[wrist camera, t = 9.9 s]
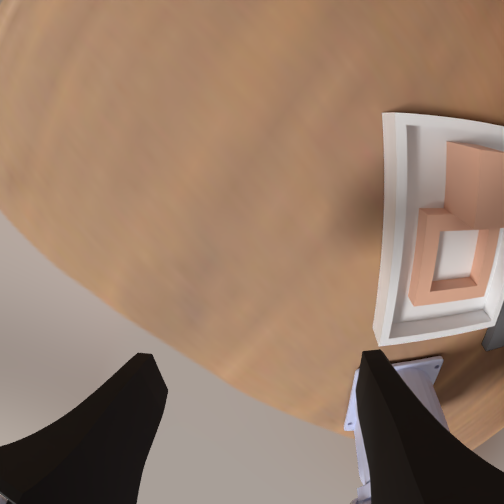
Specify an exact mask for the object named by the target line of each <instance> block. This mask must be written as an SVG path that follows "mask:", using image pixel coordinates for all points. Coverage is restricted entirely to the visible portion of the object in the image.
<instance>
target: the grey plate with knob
mask: <svg viewBox="0 0 504 504" xmlns="http://www.w3.org/2000/svg"><path fill="white" fill-rule="evenodd" d="M482 346H483V347H484V349H485V351H489V350H493V349H496V348H500V347H503V346H504V301H503V304H502V307H501V310H500V313H499V316H498V318H497V321H496V324H495V326H492V327H488V330H487V332H486V335H485V337H484V340H483V342H482Z"/></svg>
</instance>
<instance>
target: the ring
mask: <svg viewBox="0 0 504 504" xmlns="http://www.w3.org/2000/svg"><path fill="white" fill-rule="evenodd" d="M446 144H447V152H446V184H445V199H444V208H419V213H418V225H417V236H416V245H415V253H414V261H413V268H412V274H411V281H410V287H409V293H408V297H409V299H410V301H411V303H412V304H413V306H423V305H430V304H438V303H445V302H452V301H459V300H466V299H472V298H478V297H484V295H485V292H486V288H487V285H488V281H489V277H490V273H491V269H492V265H493V261H494V257H495V252H496V247H497V242H498V237H499V232H500V228H504V152H503V151H499V150H496V149H492V148H488V147H485V146H481V145H476V144H468V143H459V142H448V141H446ZM461 230H479V232H478V238H477V244H476V249H475V254H474V259H473V264H472V268H471V273H470V277H464V278H456V279H447V280H438V281H432V279H433V274H434V269H435V263H436V257H437V250H438V244H439V236H440V231H461Z"/></svg>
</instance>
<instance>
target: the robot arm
mask: <svg viewBox="0 0 504 504" xmlns="http://www.w3.org/2000/svg"><path fill="white" fill-rule="evenodd" d="M442 363H443V358H442V356H436V357H431V358H425V359H420V360H414V361H408V362H401V363H395V364H391V363H390V361H389V360H388V359H387V357H386V356H385V354H384V353H383V351H381V350H380V349H379V350H371V351H363V352H362V358H361V364H360V368H359V369H357V370H356V371H355V375H354V380H353V385H352V391H351V396H350V401H349V405H348V410H347V414H346V419H345V423H344V430H345V431H352V430H354V435H355V442H356V451H357V459H358V469H359V476H360V479H361V481H362V483H363V485H364V486H361V487H359V488H357V493H358V498H356V499H354V500H353V501H352V502H351V503H350V504H504V472H502V471H501V470H499V469H497V468H496V467H494V466H492V465H491V464H489V463H488V462H486V461H485V460H483V459H482V458H481V457H479V456H478V455H477V454H475V453H474V452H473V451H471V450H470V449H469V448H467V447H466V446H465V445H464V444H462V443H461V442H460V441H459V440H458V439H457V438H455V437H454V436H453V435H452V434H451V433H450V431H449V428H448V425H447V422H446V419H445V416H444V414H443V411H442V408H441V405H440V403H439V400H438V397H437V395H436V392H435V390H434V387H433V384H434V382H435V380H436V378H437V375H438V373H439V371H440V368H441V366H442ZM167 394H168V389H167V387H166V384H165V382H164V380H163V378H162V376H161V373H160V371H159V369H158V367H157V364H156V362H155V360H154V357H153V355H152V354H145V353H137V354H136V355H135V356H133V357H132V358H131V359H130V360H129V361H128V362H127V363H126V364H125V365H124V366H122V367H121V368H120V369H119V370H118V371H117V372H116V373H115V374H114V375H113V376H112V377H111V378H110V379H108V380H107V381H106V382H105V383H104V384H103V385H102V386H101V387H100V388H98V389H97V390H96V391H95V392H94V393H93V394H91V395H90V396H89V397H88V398H87V399H85V400H84V401H83V402H82V403H80V404H79V405H78V406H77V407H76V408H74V409H73V410H72V411H70V412H69V413H67V414H66V415H64V416H63V417H61V418H60V419H58V420H57V421H55V422H54V423H52V424H50V425H48V426H47V427H45V428H43V429H41V430H39V431H38V432H36V433H34V434H32V435H30V436H28V437H25V438H23V439H21V440H18V441H16V442H13V443H10V444H7V445H4V446H1V447H0V494H1V495H0V504H136V503H137V497H138V491H139V486H140V481H141V477H142V472H143V468H144V465H145V461H146V459H147V456H148V453H149V450H150V448H151V445H152V443H153V440H154V437H155V434H156V432H157V429H158V426H159V424H160V421H161V418H162V415H163V412H164V408H165V404H166V399H167ZM2 495H3V496H4V497H5V498H4V497H3V496H2ZM7 499H8V500H7Z"/></svg>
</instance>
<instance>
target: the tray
mask: <svg viewBox="0 0 504 504" xmlns="http://www.w3.org/2000/svg"><path fill="white" fill-rule="evenodd" d="M382 121H383V139H384V218H383V237H382V251H381V264H380V274H379V284H378V292H377V300H376V308H375V315H374V322H373V330H374V333H375V336H376V339H377V342H378V345H379V346H386V345H394V344H402V343H409V342H415V341H422V340H428V339H434V338H439V337H445V336H450V335H455V334H460V333H465V332H470V331H475V330H479V329H484V328H488V327H492V326H495V324H496V321H497V318H498V316H499V313H500V310H501V307H502V304H503V301H504V228H500V232H499V237H498V242H497V247H496V252H495V257H494V261H493V265H492V269H491V273H490V277H489V281H488V285H487V288H486V292H485V295H484V297H478V298H472V299H466V300H459V301H452V302H445V303H438V304H430V305H423V306H413V304H412V303H411V301H410V299H409V297H408V293H409V287H410V281H411V274H412V268H413V261H414V253H415V245H416V236H417V225H418V213H419V208H444V199H445V184H446V152H447V144H446V141H448V142H459V143H468V144H476V145H481V146H485V147H488V148H492V149H496V150H499V151H503V152H504V126H499V125H494V124H489V123H483V122H478V121H472V120H465V119H458V118H451V117H442V116H433V115H423V114H411V113H396V112H391V113H382ZM478 232H479V230H461V231H440V236H439V244H438V250H437V257H436V263H435V269H434V274H433V279H432V281H438V280H447V279H456V278H464V277H470V273H471V268H472V264H473V259H474V254H475V249H476V244H477V238H478Z"/></svg>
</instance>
